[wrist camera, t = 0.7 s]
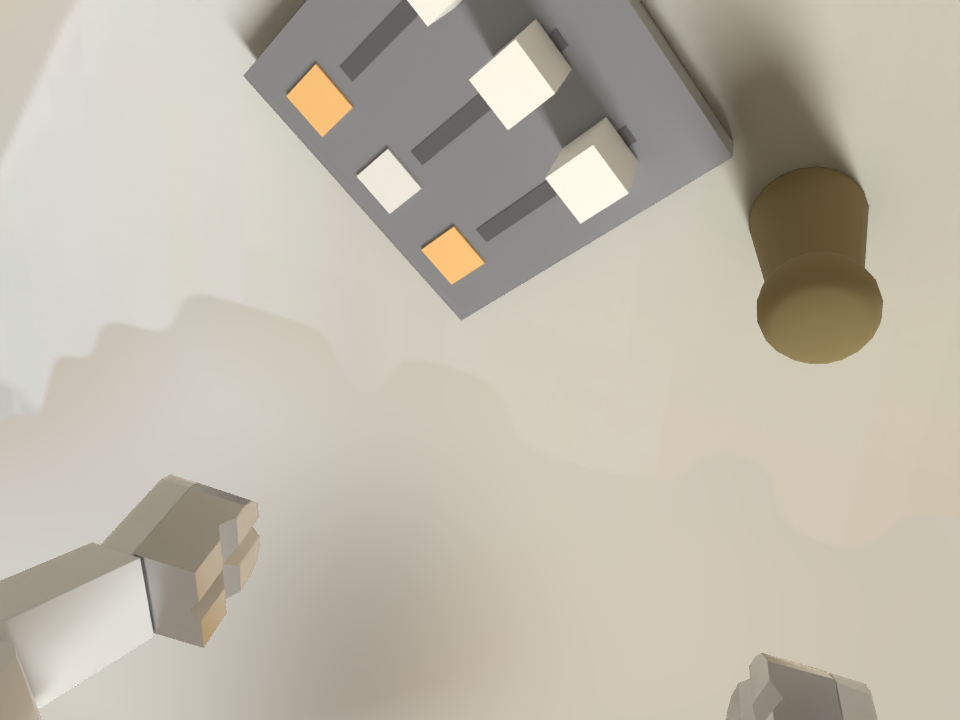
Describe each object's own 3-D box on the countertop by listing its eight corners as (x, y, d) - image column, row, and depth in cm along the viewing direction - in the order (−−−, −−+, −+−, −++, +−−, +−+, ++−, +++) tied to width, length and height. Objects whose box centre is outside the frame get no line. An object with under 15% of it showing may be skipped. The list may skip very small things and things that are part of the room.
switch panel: (498, -213, 32) (484, -214, 31) (733, 142, 38) (732, 158, 37) (260, 66, 44) (241, 76, 42) (470, 304, 50) (460, 322, 48)
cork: (730, 246, 42) (723, 356, 34) (780, 151, 38) (786, 250, 30) (831, 281, 41) (849, 402, 33) (893, 189, 37) (931, 300, 29)
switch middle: (535, 18, 36) (515, 39, 33) (572, 68, 37) (555, 93, 34) (492, 57, 37) (468, 79, 34) (527, 104, 38) (507, 130, 35)
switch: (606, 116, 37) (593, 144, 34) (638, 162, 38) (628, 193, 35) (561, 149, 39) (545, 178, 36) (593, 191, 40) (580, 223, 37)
